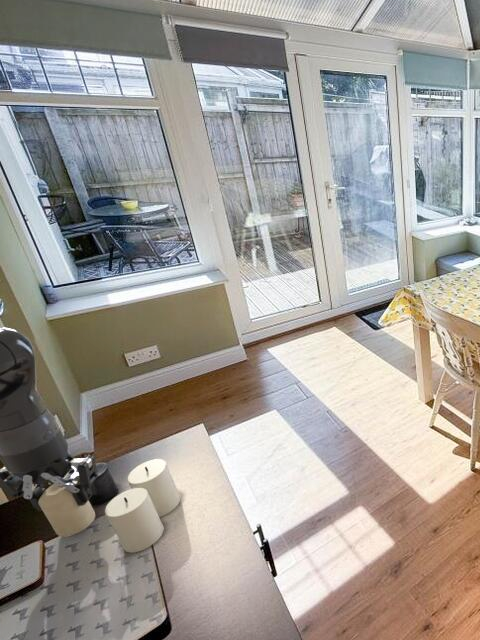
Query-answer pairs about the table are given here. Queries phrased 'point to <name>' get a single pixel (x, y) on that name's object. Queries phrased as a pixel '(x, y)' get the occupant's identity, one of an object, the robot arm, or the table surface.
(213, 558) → the table surface
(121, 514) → the candle
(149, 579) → the table surface
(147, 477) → the candle
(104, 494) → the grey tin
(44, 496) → the candle
